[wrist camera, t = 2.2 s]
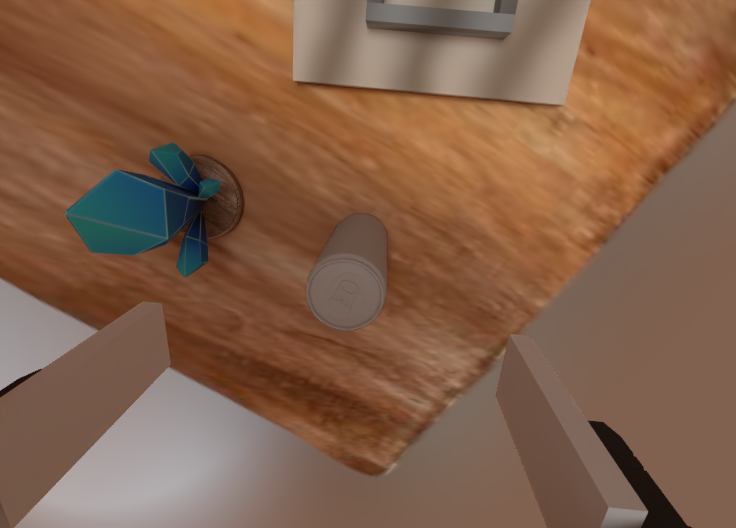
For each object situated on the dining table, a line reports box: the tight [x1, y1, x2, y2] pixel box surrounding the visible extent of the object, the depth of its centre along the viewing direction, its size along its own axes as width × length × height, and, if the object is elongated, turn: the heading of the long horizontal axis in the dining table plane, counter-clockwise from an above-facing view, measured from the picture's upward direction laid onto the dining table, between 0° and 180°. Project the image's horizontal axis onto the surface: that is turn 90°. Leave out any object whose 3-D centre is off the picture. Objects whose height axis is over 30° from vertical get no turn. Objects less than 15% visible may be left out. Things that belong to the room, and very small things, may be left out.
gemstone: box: [64, 143, 243, 278], centre depth 27 cm, size 7×9×12 cm
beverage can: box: [306, 214, 388, 331], centre depth 27 cm, size 5×5×12 cm
